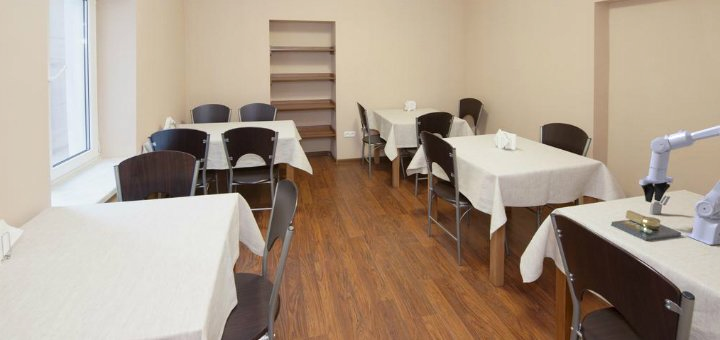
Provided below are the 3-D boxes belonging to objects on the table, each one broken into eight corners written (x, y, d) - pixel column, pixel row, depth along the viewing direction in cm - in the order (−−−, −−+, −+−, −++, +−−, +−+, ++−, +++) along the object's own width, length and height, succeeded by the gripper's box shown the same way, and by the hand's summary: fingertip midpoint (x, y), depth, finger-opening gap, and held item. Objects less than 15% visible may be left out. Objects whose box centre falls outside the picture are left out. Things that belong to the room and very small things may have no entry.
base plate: (680, 236, 167) (681, 228, 166) (645, 240, 163) (647, 232, 162) (643, 221, 182) (644, 214, 181) (611, 225, 178) (612, 217, 177)
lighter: (652, 214, 190) (655, 196, 188) (649, 213, 191) (651, 195, 189) (667, 213, 190) (670, 195, 188) (664, 212, 192) (667, 194, 190)
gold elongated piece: (663, 228, 169) (664, 221, 168) (650, 230, 168) (651, 223, 167) (633, 216, 182) (634, 209, 181) (621, 218, 180) (622, 211, 179)
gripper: (664, 164, 179) (658, 196, 183) (634, 166, 176) (629, 199, 179) (680, 168, 173) (674, 201, 176) (650, 170, 169) (644, 205, 172)
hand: (652, 201), depth 177 cm, fingers open, 4 cm apart
